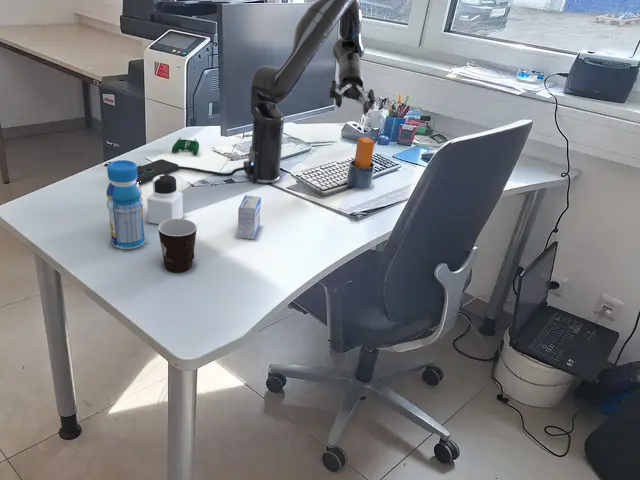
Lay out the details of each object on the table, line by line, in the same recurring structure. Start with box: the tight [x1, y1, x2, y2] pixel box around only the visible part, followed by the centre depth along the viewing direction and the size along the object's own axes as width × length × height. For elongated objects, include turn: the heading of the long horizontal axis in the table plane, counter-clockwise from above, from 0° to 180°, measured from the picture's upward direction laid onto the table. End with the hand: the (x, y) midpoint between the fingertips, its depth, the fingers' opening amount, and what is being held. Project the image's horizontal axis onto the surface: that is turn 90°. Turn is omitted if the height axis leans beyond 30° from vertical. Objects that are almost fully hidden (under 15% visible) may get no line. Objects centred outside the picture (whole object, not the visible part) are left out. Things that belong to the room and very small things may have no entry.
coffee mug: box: [157, 218, 198, 274], centre depth 125 cm, size 12×9×10 cm
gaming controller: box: [171, 136, 200, 156], centre depth 193 cm, size 9×4×6 cm
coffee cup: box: [346, 159, 376, 190], centre depth 173 cm, size 8×8×7 cm
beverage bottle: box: [105, 159, 146, 250], centre depth 132 cm, size 8×8×20 cm
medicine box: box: [237, 195, 262, 240], centre depth 142 cm, size 8×4×9 cm, turn 168°
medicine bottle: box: [146, 174, 184, 225], centre depth 146 cm, size 7×7×12 cm
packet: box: [354, 136, 375, 168], centre depth 171 cm, size 3×5×14 cm
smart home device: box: [136, 158, 179, 186], centre depth 174 cm, size 8×2×20 cm
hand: (352, 108), depth 171 cm, fingers open, 8 cm apart
